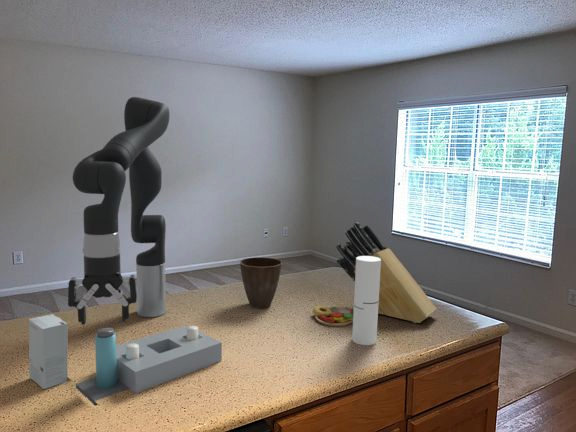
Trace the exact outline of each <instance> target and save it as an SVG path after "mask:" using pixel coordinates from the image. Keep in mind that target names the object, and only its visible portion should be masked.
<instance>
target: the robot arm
mask: <svg viewBox="0 0 576 432" xmlns="http://www.w3.org/2000/svg"><path fill="white" fill-rule="evenodd" d="M123 112H124V113H123V116H124V117H123V119H124V121H123V122H124V129H125V130H124V131H122V132H119V133H117V134H116V135H114V136H113V137H111V139H110V140H109V141H108V142H106V144H105V145H103V146H104V147H102V148H101V149H100V150H97V151H95V152H93V153H91V154H89V155H88V156H86V157H85V158H83V159H82V160H80V161H79V162H78V163H77V164H76V166H75V168H74V169H73V173H72V182H73V185H74V187H75V188H76V190H77V191H79V192H81V193H83V194H89V195H90V194H93V195H94V194H95V195H103V198H102V201H101V203H96V204H91V205H88V206H86V207H84V210H83V241H82V242H83V243H82V247H83V248H82V253H83V274H84V276H83V278H76V277H71V278H70V279H69V281H68V292H67V293H68V294H67V305H68V307H71V308H73V307H74V308H76V309H77V320H78V322H79V323H81V325H82V326H83V325H86V324H87V311H86V310H87V307H86V304H87V303H88V302H89V300H90V299H91V298H92V297H94V298H95V299H97V298H98V299H100V298H102V297H103V298H111V297H112V296H113V297H114V298H115V299H116V300H118V301H119V304H121V323H122V322H123V323H124V322H126V321H127V320H128V319H129V317H130V316H129V315H130V305H132V304H136V306H135V307H136V314H137V316H139V317H143V318H155V317H160V316H163V315H164V314H165V313H166V308H167V306H166V247H165V246H166V229H167V228H166V227H167V225H166V219H165V216H163V215H161V214H144V212H145V211H146V209H147V208H148V206H149V205H150V204H151V203H152V202H153V201H154V200H155V199H156V198H157V196H158V195H159V193H161V190H162V177H163V176H162V173H163V172H162V167H161V165H160V163H159V161H158V160H157V158H156V157H155V155H154V153H153V152H152V151H151V149H150V148H149V147H150V146H151V145H152V144H154V143H155V142H156V141H158V139H159V138H161V137H163V135H164V133H165V132H166V130H167V129H168V127H169V122H170V109H169V107H168V105H167V104H165V103H163V102H160V101H157V100H152V99H147V98H143V97H139V96H132V97H129V98H128V99H127V101H126V103H125V105H124V110H123ZM127 170H128V179H129V191H130V202H131V203H130V205H131V207H130V209H131V210H130V213H131V214H130V234H131V235H130V236H131V239H132V241H133V242H134V243H136V244H154V245H153V247H151V248H150V249H147V250H144V251H143V252H139V253H138V254H136V258H135V259H136V260H135V263H136V275H135V274H130V276H124V277H123V276H122V274H121V273H122V272H121V242H120V241H121V240H120V235H119V210H120V207H121V205H120V204H121V201H122V197H123V194H124V189H125V186H126V180H127V174H126V172H127ZM123 283H124V284H125V285H126V287H129V292H130V293H129V294H130V296H128V297H127V296H126V294H124V291H123V290H122V289H121V288H120V287H121V286H122V284H123ZM81 285H82V286H83V287H84V288H85V289H86V292H85V293H84V295H83V296H82V297H81V298H80V300H79V299H77V290H78V289H79V287H80V286H81Z"/></svg>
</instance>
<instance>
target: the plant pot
mask: <svg viewBox="0 0 576 432" xmlns="http://www.w3.org/2000/svg"><path fill="white" fill-rule="evenodd" d="M282 264H283V262H282V260H280V259H278V258H273V257H262V256H261V257H259V256H257V257H247V258H243V259H241V260H240V261H239V266H240V274H241V279H242V283H243V288H244V292H245V295H246V298H247V301H248V303H249V306H250V307H252V308H255V309H266V308H269V307H271V305H272V303H273V301H274V297H275V294H276V292H277V288H278V284H279V280H280V278H281V277H280V276H281V270H282Z"/></svg>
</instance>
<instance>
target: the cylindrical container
mask: <svg viewBox="0 0 576 432" xmlns="http://www.w3.org/2000/svg"><path fill="white" fill-rule="evenodd" d="M380 269H381V259H380V258H378V257H373V256H359V257H356V272H355V281H354V293H353V294H354V295H353V296H354V297H353V298H354V299H353V312H352V314H353V321H352V336H351V337H352V338H351V340H352V342H353V343H355V344H358V345H361V346H373V345H375V344H376V343H377V336H378V335H377V334H378V317H379V313H378V304H379V287H380Z"/></svg>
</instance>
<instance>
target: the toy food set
mask: <svg viewBox="0 0 576 432" xmlns="http://www.w3.org/2000/svg"><path fill="white" fill-rule="evenodd" d="M312 314H314V318H315V319H316V320H317V322H318V323H320V324H322V325H325V326H331V327H344V326H347V325H350V324H351V323H353V311H352V310H351V309H349V308H339V307H337V306H335V307H330V308H329V307H327V306H324V305H317V306H315V307H313V309H312Z"/></svg>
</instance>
